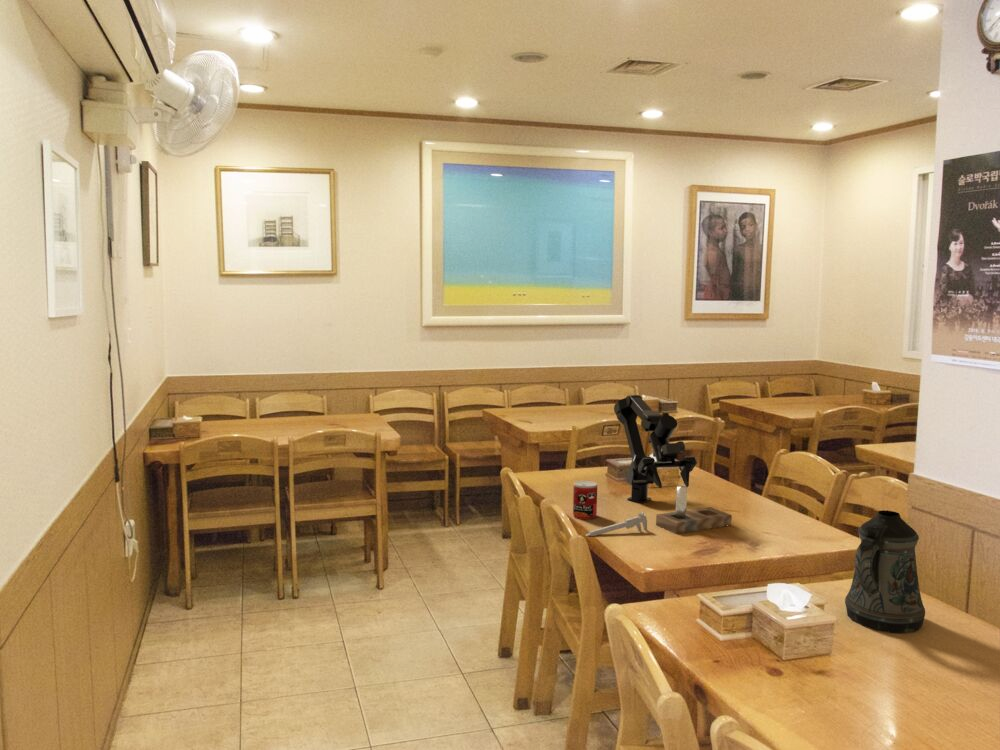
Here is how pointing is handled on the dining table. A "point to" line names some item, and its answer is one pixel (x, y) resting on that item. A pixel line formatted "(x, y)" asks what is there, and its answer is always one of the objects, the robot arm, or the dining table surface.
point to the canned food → (585, 499)
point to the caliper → (623, 525)
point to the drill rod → (681, 502)
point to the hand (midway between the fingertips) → (674, 487)
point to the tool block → (693, 520)
